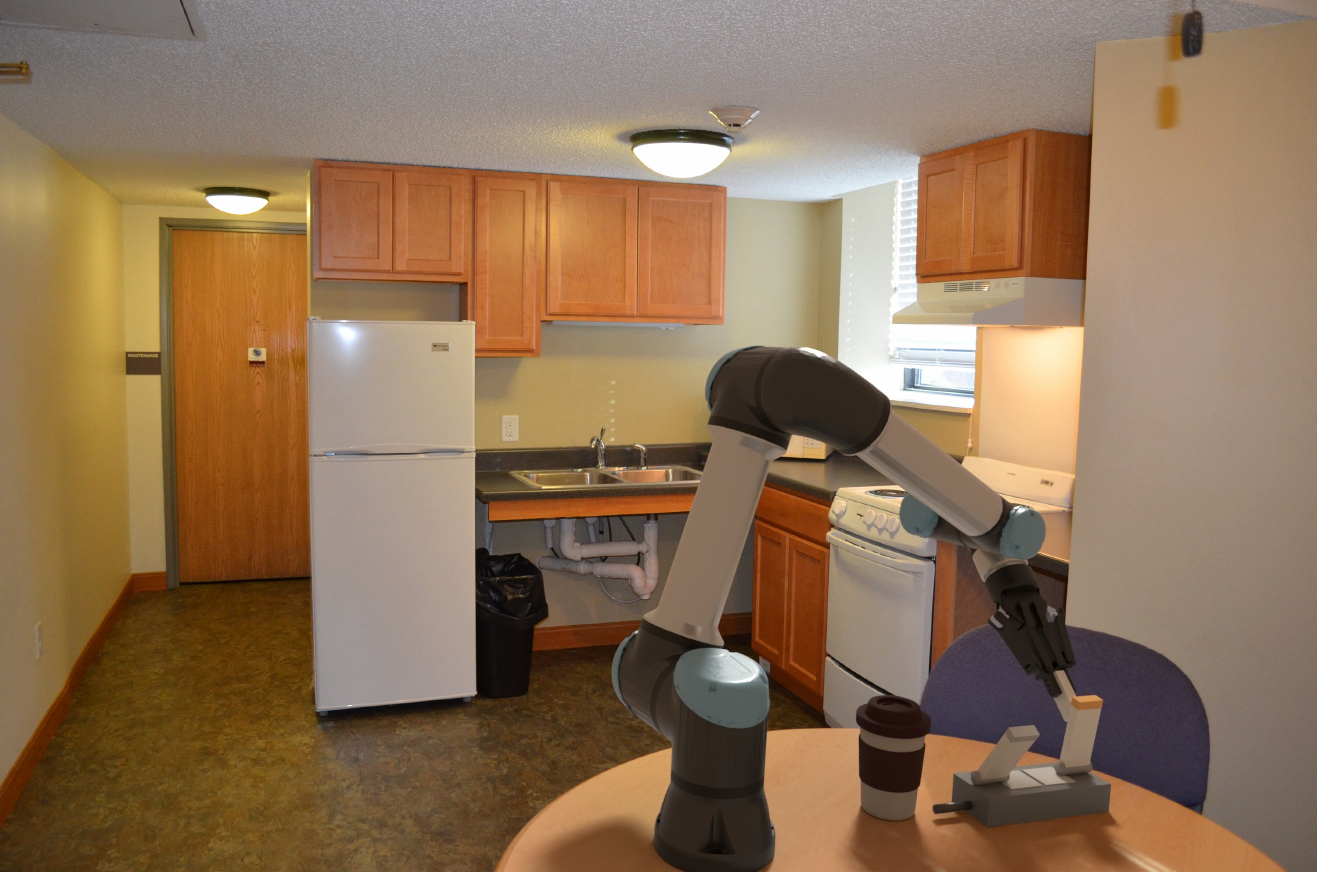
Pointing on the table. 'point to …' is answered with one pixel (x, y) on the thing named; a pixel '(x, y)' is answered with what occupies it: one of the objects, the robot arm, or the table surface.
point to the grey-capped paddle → (1005, 755)
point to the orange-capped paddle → (1079, 735)
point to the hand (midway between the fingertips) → (1074, 716)
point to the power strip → (1028, 796)
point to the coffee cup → (891, 755)
